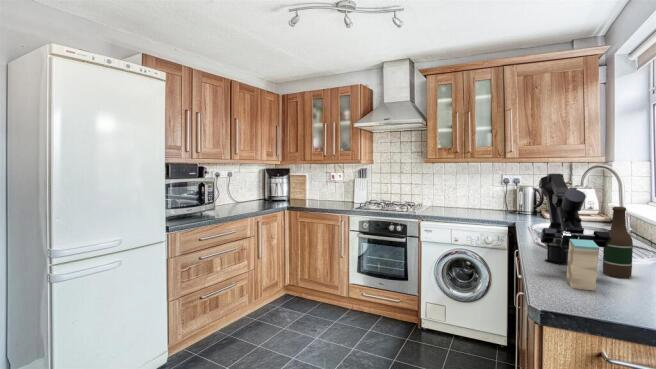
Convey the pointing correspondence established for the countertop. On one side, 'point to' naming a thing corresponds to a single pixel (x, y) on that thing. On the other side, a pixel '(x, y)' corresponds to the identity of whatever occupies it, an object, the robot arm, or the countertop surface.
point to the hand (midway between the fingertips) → (578, 259)
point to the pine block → (582, 264)
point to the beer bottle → (618, 248)
